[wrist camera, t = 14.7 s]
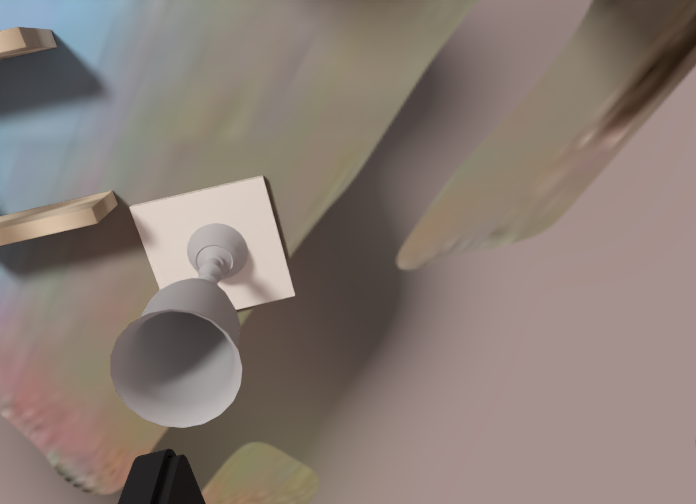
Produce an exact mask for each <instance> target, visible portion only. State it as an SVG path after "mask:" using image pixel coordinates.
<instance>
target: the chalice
mask: <svg viewBox="0 0 696 504" xmlns="http://www.w3.org/2000/svg"><path fill="white" fill-rule="evenodd" d="M187 255H188V258H189V262H190V263H191V265H192V266H193V268H194V269H195V270H196V271H197V273H198V275H199V277H198V278H190V279H185V280H180V281H177V282H175V283H172V284H170V285H168V286H166V287H165V288H163V289H161V290H159V291H158V292H157V293H156V294H155V295H154V297H153V298H152V299H151V300H150V301H149V303H148V304H147V306H146V308H145V310H144V312H143V314H142V315H141V317H140V318H139V319H137V320H135V321H134V322H132V323H130V324H129V325H128V327H127V328H126V329H125V330H124V331H123V332H122V333H121V335H120V336H119V337H118V338H117V340H116V343H115V346H114V348H113V351H112V354H111V377H112V380H113V383H114V386H115V389H116V392H117V393H118V394H119V396H120V397H121V398H122V400H123V401H124V402H125V404H126V405H127V406H128V407H129V408H130V409H131V410H133V411H134V412H135V413H137V414H138V415H139V416H141V417H142V418H144V419H146V420H148V421H151V422H154V423H156V424H159V425H162V426H169V427H182V428H185V427H189V426H194V425H200V424H204V423H206V422H208V421H209V420H211V419H213V418H215V417H217V416H219V415H220V414H221V413H222V412H223V411H224V410H225V409H226V408H227V407H228V406H229V405H230V404H231V403H232V402H233V400H234V398H235V396H236V394H237V392H238V390H239V388H240V385H241V375H242V365H241V361H240V356H239V352H238V349H237V347H238V340H239V332H240V322H239V318H238V314H237V311H236V309H235V307H234V306H233V304H232V302H231V301H230V299H229V297H228V296H227V294H226V292H225V291H223V290H222V289H221V288H220V287H219V286H218V282H219V281H220V280H223V279H227V278H230V277H232V276H234V275H236V274H238V273H239V272H240V271H241V270H242V269H243V267H244V265H245V263H246V261H247V256H248V249H247V244H246V241H245V240H244V238H243V237H242V235H241V234H240V233H239V232H238V231H237V230H235V229H234V228H232V227H230V226H228V225H226V224H219V223H213V224H207V225H204V226H203V227H201V228H199V229H197V230H196V231H195V232H194V233H193V234H192V235H191V237H190V240H189V242H188V245H187Z"/></svg>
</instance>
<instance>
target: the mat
mask: <svg viewBox="0 0 696 504" xmlns="http://www.w3.org/2000/svg"><path fill="white" fill-rule="evenodd" d="M129 208H130V211H131V214H132V216H133V219H134V221H135V224H136V227H137V229H138V232H139V235H140V237H141V240H142V243H143V245H144V248H145V251H146V253H147V256H148V259H149V261H150V264H151V267H152V269H153V272H154V275H155V277H156V280H157V283H158V285H159V288H160V290H161V289H163V288H165V287H166V286H168V285H170V284H172V283H175V282H177V281H180V280H185V279H190V278H198V277H199V275H198V273H197V271H196V270H195V269H194V268H193V266H192V265H191V263H190V262H189V258H188V255H187V245H188V242H189V240H190V237H191V235H192V234H193V233H194V232H195V231H196V230H197V229H199V228H201V227H203V226H204V225H207V224H213V223H219V224H226V225H228V226H230V227H232V228H234V229H235V230H237V231H238V232H239V233H240V234H241V235H242V237H243V238H244V240H245V241H246V244H247V249H248V256H247V261H246V263H245V265H244V267H243V269H242V270H241V271H240V272H239V273H238V274H236V275H234V276H232V277H230V278H227V279H223V280H220V281H219V282H218V286H219V287H220V288H221V289H222V290H223V291H225V292H226V294H227V296H228V297H229V299H230V301H231V302H232V304H233V306H234V307H235V309H236V310H237V309H242V308H246V307H250V306H254V305H259V304H263V303H267V302H271V301H275V300H279V299H284V298H288V297H292V296H295V290H294V287H293V283H292V280H291V276H290V272H289V268H288V265H287V261H286V257H285V254H284V250H283V246H282V243H281V239H280V235H279V232H278V228H277V224H276V221H275V217H274V213H273V209H272V206H271V202H270V198H269V195H268V191H267V187H266V184H265V180H264V176H263V175H262V176H257V177H253V178H248V179H244V180H240V181H235V182H231V183H227V184H222V185H218V186H214V187H209V188H205V189H200V190H196V191H192V192H187V193H183V194H179V195H174V196H170V197H165V198H161V199H157V200H152V201H148V202H144V203H139V204H135V205H131V206H130V207H129Z"/></svg>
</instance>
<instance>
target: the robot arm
mask: <svg viewBox="0 0 696 504" xmlns="http://www.w3.org/2000/svg"><path fill="white" fill-rule="evenodd" d="M118 504H206V503H205V501H204V499H203V496H202V494H201V491H200V489H199V487H198V484H197V481H196V479H195V477H194V474H193V472H192V469H191V467H190V464H189V462H188V460H187V458H186V456H184V455H178V456H176V454H175V452H174V451H173V450H172V449H166V450H162V451H158V452H154V453H149V454H145V455H141V456H138V457H137V458H135V460H134V462H133V464H132V467H131V470H130V472H129V475H128V478H127V480H126V483H125V486H124V489H123V491H122V494H121V497H120V499H119V503H118Z"/></svg>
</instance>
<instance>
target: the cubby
mask: <svg viewBox="0 0 696 504" xmlns="http://www.w3.org/2000/svg"><path fill="white" fill-rule="evenodd" d="M56 47H57V45H56V43H55V40H54V37H53V35H52V32H51V30H49V29H36V28H24V27H16V28H12V29H7V30H2V31H0V60H1V59H6V58H10V57H15V56H19V55H24V54H28V53H33V52H37V51H42V50H47V49H51V48H56ZM117 205H118V204H117V201H116V199H115V196H114V193H113V191H109V192H104V193H100V194H95V195H91V196H87V197H82V198H78V199H73V200H69V201H65V202H60V203H56V204H52V205H47V206H43V207H38V208H34V209H30V210H25V211H21V212H16V213H12V214H8V215H3V216H0V246H1V245H5V244H10V243H14V242H19V241H23V240H27V239H32V238H36V237H40V236H45V235H49V234H53V233H58V232H62V231H67V230H71V229H75V228H80V227H84V226H88V225H93V224H97V223H99V222H100V221H101V220H102V219H103V218H104V217H105V216H106V215H107V214H108V213H109V212H110V211H111V210H113V209H114V208H115V207H116V206H117Z"/></svg>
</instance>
